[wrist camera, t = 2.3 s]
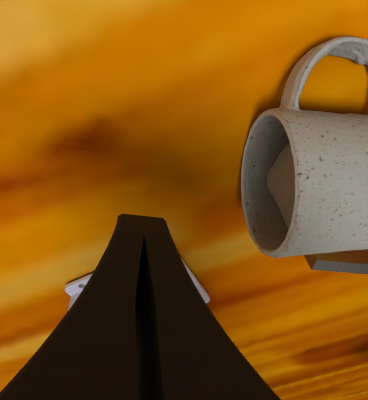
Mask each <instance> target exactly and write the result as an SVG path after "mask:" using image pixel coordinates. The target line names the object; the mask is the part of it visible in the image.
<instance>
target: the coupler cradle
mask: <svg viewBox="0 0 368 400" xmlns="http://www.w3.org/2000/svg"><path fill="white" fill-rule="evenodd" d="M304 256H305V258H306V260H307V262H308V264H309V266H310V268H311V269H312V270H324V271H336V272H348V273H360V274H368V249H364V250H349V251H340V252H331V253H319V254H308V255H304Z"/></svg>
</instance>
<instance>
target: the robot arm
mask: <svg viewBox="0 0 368 400" xmlns="http://www.w3.org/2000/svg"><path fill="white" fill-rule="evenodd" d="M65 292H66V293H68V294H69V295H70V296H71V298H70V303H69V307H68V312H67V313H66V315H65V316H64V317H63V319H62V320H61V321H60V323H59V324H58V325H57V327H56V328H55V329H54V330H53V332H52V333H51V334H50V336H49V337H48V338H47V339H46V341H45V342H44V343H43V344H42V346H41V347H40V348H39V349H38V350H37V352H36V353H35V354H34V355H33V356H32V358H31V359H30V360H29V361H28V362H27V363H26V365H25V366H24V367H23V368H22V369H21V370H20V371H19V372H18V373H17V375H16V376H15V377H14V378H13V379H12V380H11V381H10V382H9V383H8V385H7V386H6V387H5V388H4V389H3V390H2V391H1V392H0V400H281V399H280V398H279V397H278V396H277V395H276V394H275V393H274V392H273V391H272V389H271V388H270V387H269V386H268V385H267V384H266V383H265V381H264V380H263V379H262V378H261V377H260V375H259V374H258V373H257V372H256V371H255V369H254V368H253V367H252V366H251V365H250V363H249V362H248V361H247V360H246V359H245V357H244V356H243V355H242V354H241V353H240V351H239V350H238V349H237V347H236V346H235V345H234V343H233V342H232V341H231V339H230V338H229V337H228V335H227V334H226V333H225V331H224V330H223V328H222V327H221V325H220V324H219V323H218V321H217V320H216V318H215V317H214V315H213V314H212V312H211V311H210V309H209V308H208V306H207V304H206V303H208V302H209V301H210V297H209V295H208V293H207V292H206V291H205V289H204V288H203V287H202V285H201V284H200V282H199V281H198V280H197V278H196V277H195V276H194V274H193V273H192V272H191V270H190V269H189V267H188V266H187V265H186V263H185V262H184V261H183V259H182V258H181V257H180V255H179V253H178V251H177V249H176V246H175V244H174V242H173V239H172V237H171V235H170V232H169V229H168V227H167V224H166V221H165V220H164V219H163V218H157V217H147V216H138V215H128V214H121V215H120V216H118V220H117V224H116V227H115V230H114V233H113V235H112V238H111V240H110V242H109V244H108V247H107V249H106V250H105V252H104V254H103V256H102V258H101V260H100V262H99V264H98V266H97V267H96V269H95V271H94V272H93V273H92V274H89V275H87V276H85V277H82V278H80V279H78V280H75V281H73V282H70V283H68V284H66V286H65Z"/></svg>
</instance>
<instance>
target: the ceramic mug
mask: <svg viewBox="0 0 368 400" xmlns="http://www.w3.org/2000/svg"><path fill="white" fill-rule="evenodd" d="M327 54H328V55H333V56H340V57H345V58H348V59H351V60H354V61H355V62H356V63H357V64H361V65H364V64H366V65H367V66H368V40H367V39H363V38H358V37H353V36H345V37H337V38H333V39H331V40H329V41H326V42H324V43H322V44H320V45H318V46H316V47H314V48H312V49H310V50H309V51H308V52H307V53H306V54H305V55H304V56H303V57H302V58H301V59H300V60H299V61H298V62H297V64H296V65H295V66H294V68H293V70H292V72H291V73H290V75H289V78H288V80H287V83H286V86H285V89H284V92H283V95H282V99H281V104H280V106H279V108H272V109H268V110H266V111H264V112H263V113H261V114H260V115H259V116H258V117H257V119H256V121H255V122H254V123H253V125H252V127H251V129H250V132H249V135H248V138H247V142H246V145H245V148H244V153H243V160H242V165H241V166H242V170H241V199H242V207H243V211H244V218H245V220H246V223H247V227H248V230H249V233H250V235H251V237H252V239H253V241H254V243H255V244H256V246H257V247H258V249H259V250H260V251H261V252H262V253H264V254H266V255H268V256H270V257H274V258H278V257H289V256H298V255H308V254H319V253H331V252H340V251H349V250H364V249H368V115H360V114H352V113H348V114H339V113H331V112H322V111H312V110H300V109H299V97H300V94H301V92H302V90H303V87H304V83H305V81H306V79H307V77H308V75H309V73H310V71H311V69H312V68H313V66H314V65H315V64H316V63H317V62H318V61H319V60H320V59H321V58H322V57H324V56H326V55H327Z"/></svg>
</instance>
